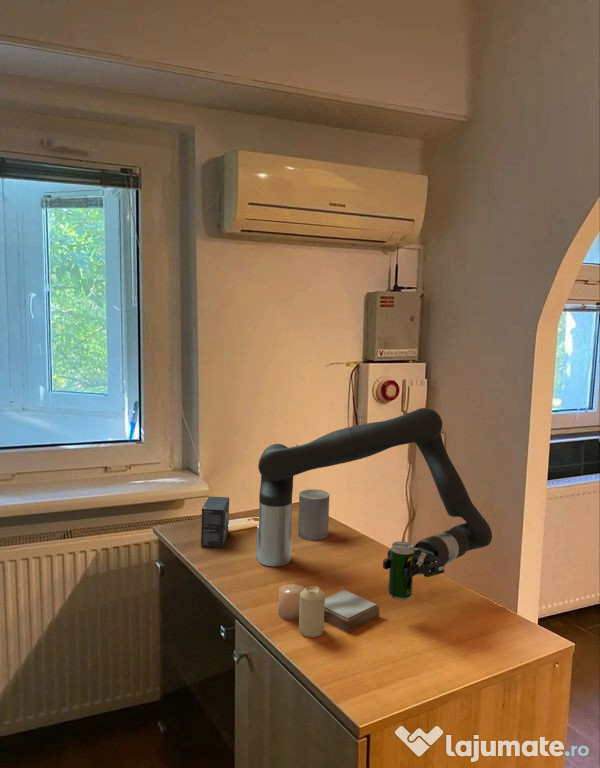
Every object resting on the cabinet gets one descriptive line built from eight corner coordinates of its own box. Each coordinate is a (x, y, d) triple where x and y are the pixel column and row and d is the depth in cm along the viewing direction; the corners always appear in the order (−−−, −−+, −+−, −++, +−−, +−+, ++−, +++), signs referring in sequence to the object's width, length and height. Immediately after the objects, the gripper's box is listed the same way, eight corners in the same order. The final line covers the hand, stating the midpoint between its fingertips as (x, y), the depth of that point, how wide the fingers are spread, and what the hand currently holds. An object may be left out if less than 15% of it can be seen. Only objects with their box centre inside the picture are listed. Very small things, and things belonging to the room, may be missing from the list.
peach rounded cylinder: (273, 613, 144) (273, 589, 143) (291, 605, 148) (292, 581, 147) (290, 623, 139) (291, 598, 139) (309, 614, 144) (310, 590, 143)
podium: (312, 614, 144) (312, 602, 143) (343, 600, 151) (344, 588, 151) (347, 632, 136) (348, 619, 136) (378, 616, 144) (379, 604, 143)
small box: (223, 548, 183) (223, 509, 182) (200, 547, 183) (200, 508, 182) (229, 532, 196) (229, 496, 195) (207, 532, 196) (208, 495, 195)
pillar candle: (296, 529, 200) (297, 485, 198) (326, 529, 201) (327, 485, 199) (299, 541, 190) (300, 494, 189) (330, 540, 191) (332, 494, 190)
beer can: (386, 598, 140) (389, 547, 138) (390, 588, 145) (393, 539, 143) (410, 602, 138) (413, 551, 137) (413, 592, 143) (416, 543, 142)
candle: (315, 640, 132) (316, 596, 131) (294, 632, 135) (295, 589, 134) (328, 629, 137) (329, 587, 136) (307, 622, 140) (308, 580, 139)
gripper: (413, 528, 155) (371, 543, 143) (463, 545, 145) (422, 563, 133) (411, 556, 156) (369, 574, 144) (461, 575, 146) (420, 596, 134)
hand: (395, 569), depth 139 cm, fingers closed on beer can, 5 cm apart
